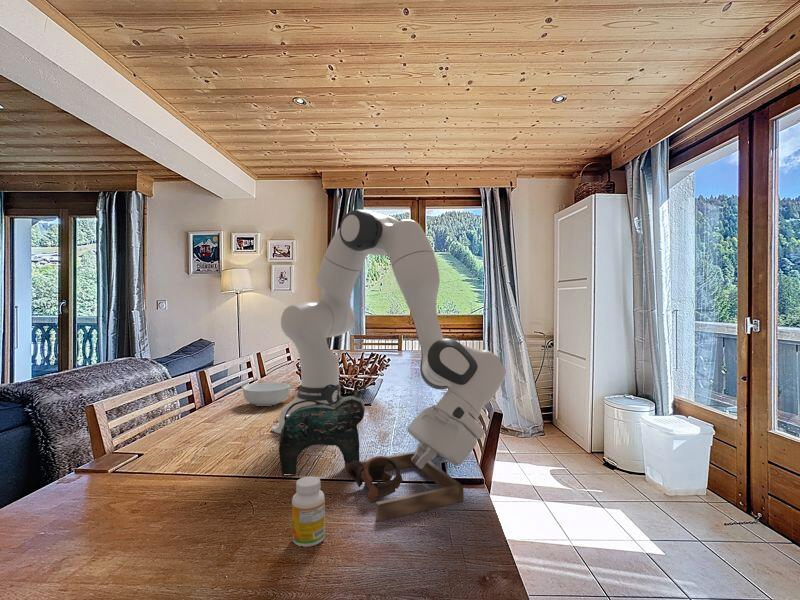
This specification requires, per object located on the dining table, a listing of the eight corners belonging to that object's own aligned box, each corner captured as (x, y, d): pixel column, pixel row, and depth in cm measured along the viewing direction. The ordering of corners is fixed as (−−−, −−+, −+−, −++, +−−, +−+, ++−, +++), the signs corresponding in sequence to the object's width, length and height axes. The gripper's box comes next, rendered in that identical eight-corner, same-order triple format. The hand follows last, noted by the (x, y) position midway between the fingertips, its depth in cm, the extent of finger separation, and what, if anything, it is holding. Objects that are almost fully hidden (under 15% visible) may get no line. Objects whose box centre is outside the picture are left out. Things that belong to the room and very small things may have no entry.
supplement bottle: (295, 530, 75) (294, 475, 75) (326, 529, 76) (325, 473, 76) (289, 548, 70) (289, 488, 70) (323, 546, 70) (323, 487, 70)
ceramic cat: (364, 462, 106) (363, 380, 106) (367, 473, 99) (366, 386, 99) (280, 468, 102) (279, 384, 102) (277, 480, 96) (276, 390, 96)
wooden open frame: (416, 463, 105) (416, 451, 105) (463, 501, 85) (463, 486, 85) (344, 476, 97) (344, 463, 97) (378, 521, 78) (378, 504, 78)
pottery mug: (403, 483, 95) (409, 458, 91) (391, 522, 87) (396, 496, 83) (352, 466, 97) (355, 441, 93) (335, 502, 89) (338, 476, 85)
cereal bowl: (263, 412, 152) (263, 392, 152) (233, 406, 161) (233, 387, 161) (299, 402, 166) (299, 384, 166) (270, 397, 175) (269, 379, 175)
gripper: (424, 395, 105) (387, 441, 101) (471, 416, 87) (428, 473, 83) (440, 411, 107) (405, 457, 103) (489, 435, 88) (448, 492, 85)
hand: (415, 464), depth 93 cm, fingers closed
